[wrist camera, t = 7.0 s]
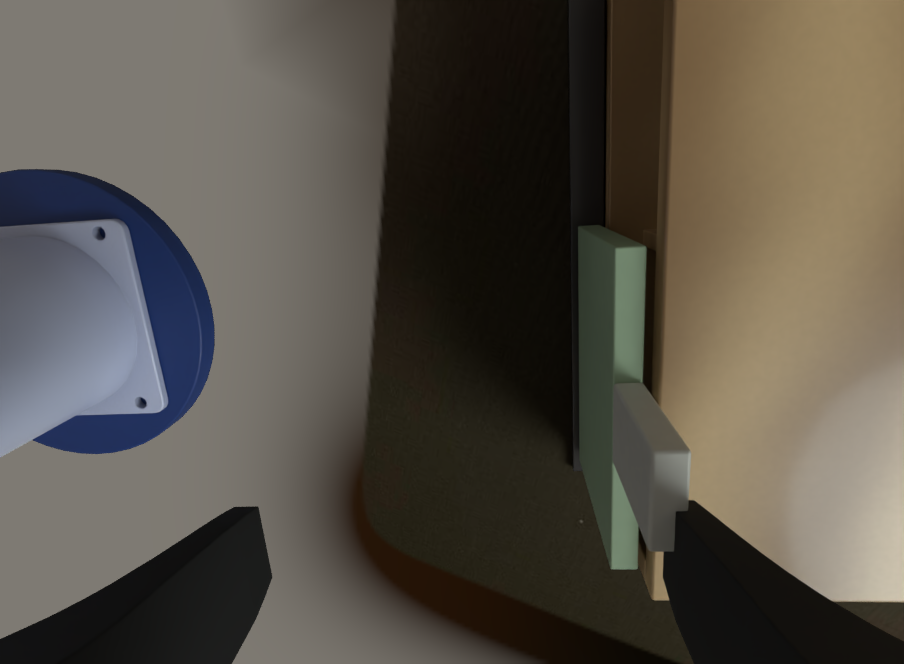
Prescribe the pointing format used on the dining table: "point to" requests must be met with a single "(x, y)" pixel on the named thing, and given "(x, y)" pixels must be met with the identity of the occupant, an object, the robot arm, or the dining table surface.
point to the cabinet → (760, 260)
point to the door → (623, 405)
